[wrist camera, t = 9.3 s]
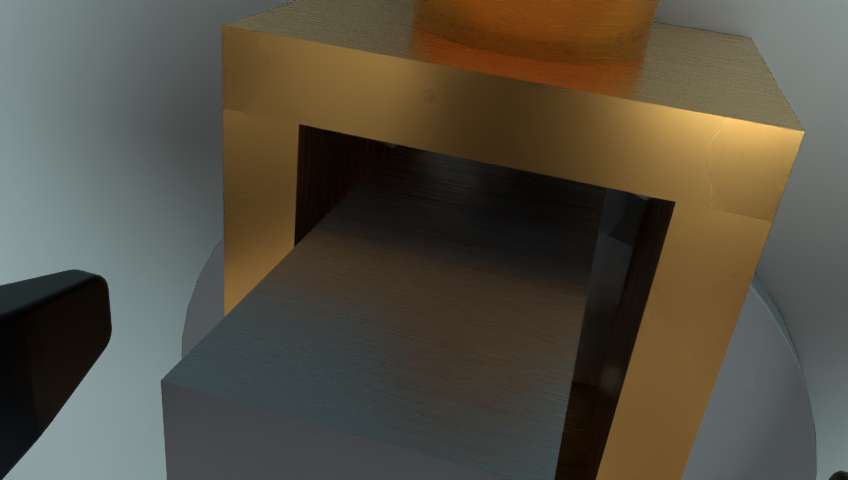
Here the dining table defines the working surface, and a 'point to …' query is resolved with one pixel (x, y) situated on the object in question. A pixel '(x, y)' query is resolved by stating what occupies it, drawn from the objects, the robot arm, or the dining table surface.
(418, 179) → the tall grey box
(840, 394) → the dining table surface
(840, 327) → the dining table surface
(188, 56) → the dining table surface
